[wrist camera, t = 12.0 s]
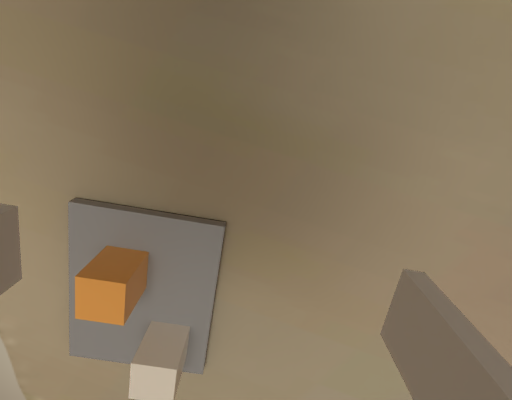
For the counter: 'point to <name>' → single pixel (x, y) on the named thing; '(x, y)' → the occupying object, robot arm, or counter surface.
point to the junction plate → (149, 292)
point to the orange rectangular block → (111, 285)
